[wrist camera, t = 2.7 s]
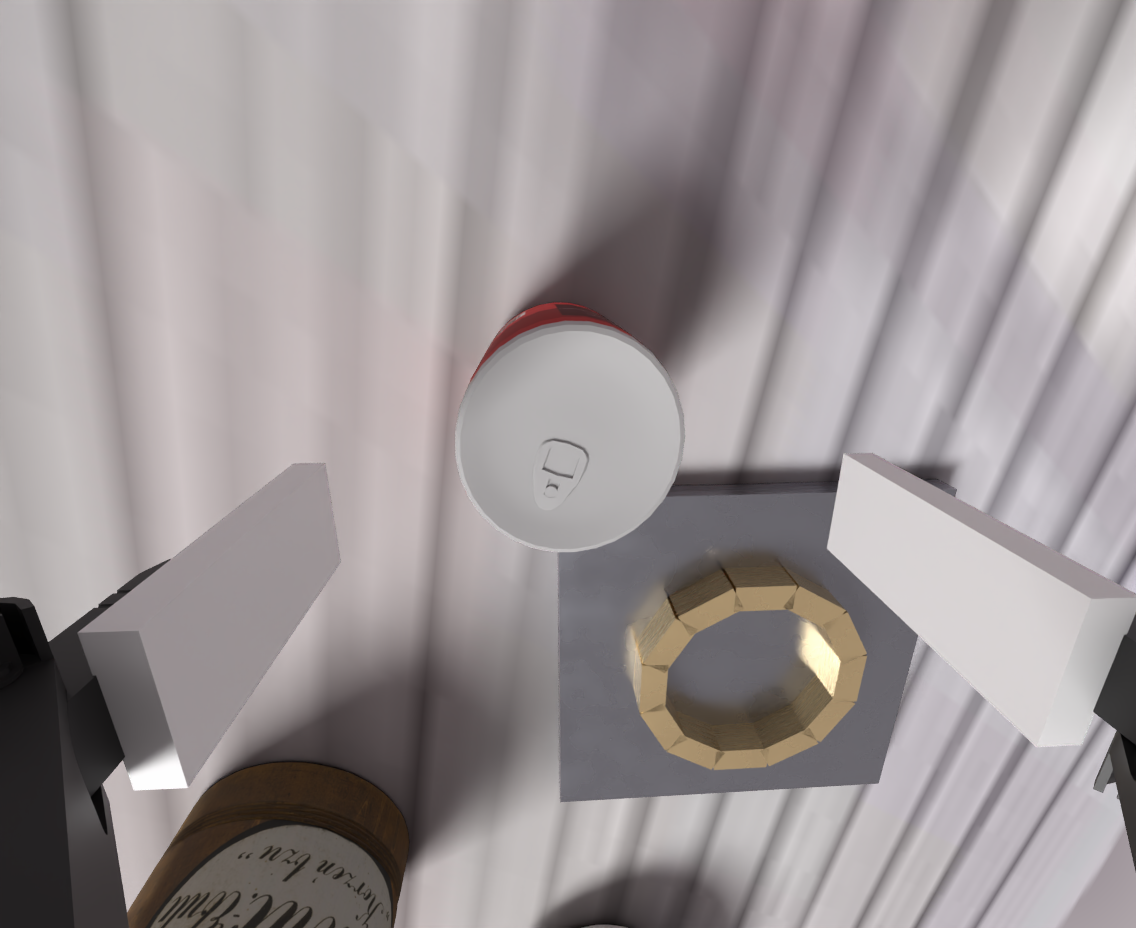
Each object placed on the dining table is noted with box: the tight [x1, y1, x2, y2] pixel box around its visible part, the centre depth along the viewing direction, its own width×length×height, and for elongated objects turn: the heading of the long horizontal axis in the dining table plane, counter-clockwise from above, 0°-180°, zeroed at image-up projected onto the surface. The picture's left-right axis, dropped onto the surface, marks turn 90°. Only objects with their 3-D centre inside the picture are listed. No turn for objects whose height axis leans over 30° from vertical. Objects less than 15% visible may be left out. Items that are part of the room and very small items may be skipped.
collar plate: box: [558, 479, 957, 802], centre depth 33 cm, size 22×22×4 cm
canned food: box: [455, 302, 685, 552], centre depth 23 cm, size 8×8×11 cm
